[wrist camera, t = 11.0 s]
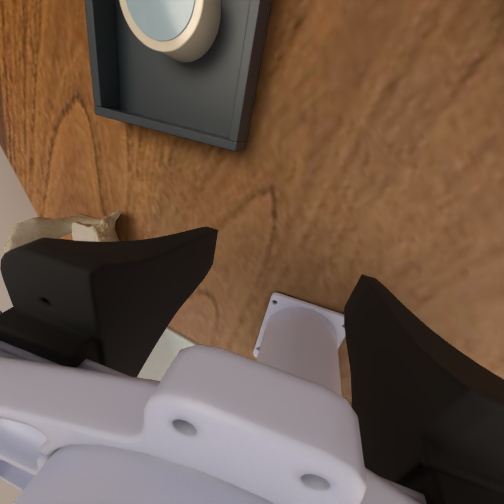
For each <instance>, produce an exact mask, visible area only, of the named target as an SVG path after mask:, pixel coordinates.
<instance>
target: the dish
mask: <svg viewBox="0 0 504 504" xmlns="http://www.w3.org/2000/svg"><path fill="white" fill-rule="evenodd" d="M119 2H120V5H121V9H122V12H123V15H124V17H125V19H126V22H127V23H128V25H129V27H130V29H131V30H132V32H133V33H134V35H135V36H136V37H137V38H138V39H139V40H140V41H141V42H142V43H143V44H144V45H146V46H147V47H149V48H151V49H153V50H155V51H157V52H159V53H161V54H163V55H165V56H167V57H169V58H171V59H173V60H175V61H178V62H192V61H195V60H197V59H199V58H200V57H202V56H203V55H204V54H205V53H206V52H207V51H208V50H209V49H210V47H211V46H212V44H213V42H214V40H215V38H216V36H217V33H218V29H219V26H220V19H221V0H119Z"/></svg>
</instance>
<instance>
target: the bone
mask: <svg viewBox="0 0 504 504" xmlns="http://www.w3.org/2000/svg"><path fill="white" fill-rule="evenodd" d="M120 214H121V211H119V210H118V211H116V212H114V213H112V214H111V215H109V216H106V217H104V218H103V219H99V218H94V217H88V216H84V215H82V214H80V215H77V216H70V217H64V218H57V219H50V218H44V217H37V218H32V219H29V220H27V221H24V222H21V223H18V224H17V225H15V226H14V227H13V228H12V230H11V233H10V237H9V239H8V241H7V242H6V244H5V249H4V254H5V253H6V252H8V251H9V250H11V249H14V248H17V247H19V246H22V245H24V244H27V243H30V242H32V241H35V240H37V239H40V238H44V237H45V238H54V239H60V238H61V237H63V236H65V235H67V234H69V233H71V232H72V238H73V240H75V241H96V242H115V241H120V240H119V238H118V236H117V234H116V230H115V222H116V220H117V219H118V217H119V216H120Z"/></svg>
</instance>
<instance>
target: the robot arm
mask: <svg viewBox="0 0 504 504" xmlns="http://www.w3.org/2000/svg"><path fill="white" fill-rule="evenodd" d="M217 233H218V230H216V229H213V228H209V227H201V228H197V229H193V230H189V231H185V232H181V233H177V234H172V235H168V236H163V237H158V238H152V239H144V240H135V241H115V242H96V241H75V240H65V239H54V238H45V237H44V238H40V239H37V240H35V241H32V242H30V243H27V244H24V245H22V246H19V247H17V248H14V249H11V250H9V251H8V252H6V253H5V254H4V256H3V257H2V259H1V273H2V276H3V280H4V282H5V285H6V288H7V290H8V293H9V296H10V299H11V301H12V304H13V306H14V307H12V308H10V309H9V310H7V311H5V312H3V313H2V312H1V311H0V478H1V479H3V480H4V481H6V482H8V483H9V484H11V485H13V486H15V487H16V488H18V489H20V490H21V491H22V492H21V493H20V494H19V496H18V497H17V498H16V499H15V501H14V502H13V503H12V504H504V380H503V379H502V378H500V377H498V376H497V375H495V374H493V373H492V372H490V371H489V370H487V369H485V368H484V367H482V366H481V365H479V364H478V363H476V362H475V361H473V360H472V359H470V358H469V357H467V356H466V355H464V354H463V353H461V352H460V351H459V350H457V349H456V348H454V347H453V346H452V345H450V344H449V343H448V342H446V341H445V340H444V339H442V338H441V337H440V336H439V335H437V334H436V333H435V332H433V331H432V330H431V329H430V328H429V327H427V326H426V325H425V324H424V323H423V322H422V321H420V320H419V319H418V318H417V317H416V316H415V315H414V314H413V313H412V312H410V311H409V310H408V309H407V308H406V307H405V306H404V305H403V304H402V303H401V302H400V301H399V300H398V299H397V298H396V297H395V296H394V295H393V294H392V293H391V292H390V291H389V290H388V289H387V288H386V287H385V286H384V285H383V284H381V283H380V282H379V281H378V280H377V279H375V278H372V277H369V276H366V275H361V277H360V279H359V281H358V283H357V285H356V286H355V288H354V290H353V292H352V294H351V296H350V298H349V300H348V301H347V303H346V305H345V309H344V314H341V313H338V312H335V311H332V310H329V309H326V308H323V307H320V306H317V305H314V304H311V303H308V302H305V301H302V300H299V299H296V298H292V297H289V296H286V295H283V294H280V293H277V292H275V293H273V294H272V295H271V298H270V302H269V305H268V308H267V311H266V314H265V317H264V320H263V323H262V326H261V330H260V333H259V336H258V339H257V342H256V345H255V348H254V351H253V355H254V356H255V357H256V358H257V360H256V361H255V360H253V359H250V358H247V357H244V356H242V355H239V354H236V353H234V352H231V351H228V350H225V349H223V348H219V347H213V346H207V345H201V344H200V345H194V346H191V347H188V348H185V349H182V350H180V351H179V353H178V355H177V356H176V358H175V359H174V361H173V362H172V364H171V366H170V367H169V369H168V370H167V372H166V373H165V375H164V377H163V378H162V380H161V381H156V380H149V379H143V378H137V376H138V374H139V372H140V370H141V369H142V367H143V365H144V363H145V362H146V360H147V358H148V357H149V355H150V353H151V352H152V350H153V348H154V347H155V345H156V343H157V342H158V340H159V338H160V337H161V335H162V334H163V332H164V330H165V329H166V327H167V326H168V324H169V323H170V321H171V320H172V318H173V317H174V315H175V314H176V312H177V311H178V310H179V308H180V307H181V306H182V305H183V304H184V302H185V301H186V300H187V299H188V298H189V296H190V295H191V294H192V293H193V292H194V290H195V289H196V288H197V287H198V285H199V284H200V283H201V282H202V281H203V279H204V278H205V276H206V275H207V273H208V271H209V270H210V268H211V266H212V265H213V259H214V253H215V246H216V240H217ZM273 300H275V301H277V302H274V301H273ZM343 324H344V325H343ZM345 336H346V342H347V349H348V356H349V363H350V371H351V389H352V407H351V406H350V404H349V402H348V401H347V400H346V399H345V398H343V397H342V393H341V381H340V369H339V357H338V348H339V346H340V344H341V343H342V341H343V339H344V337H345ZM258 347H259V348H258Z"/></svg>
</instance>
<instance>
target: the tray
mask: <svg viewBox="0 0 504 504" xmlns="http://www.w3.org/2000/svg"><path fill="white" fill-rule="evenodd" d="M84 1H85V11H86V22H87V33H88V43H89V54H90V65H91V76H92V86H93V97H94V105H95V106H94V108H95V114H96V115H99V116H103V117H107V118H111V119H115V120H118V121H122V122H126V123H130V124H133V125H137V126H141V127H145V128H149V129H152V130H156V131H160V132H164V133H168V134H171V135H175V136H179V137H183V138H187V139H190V140H194V141H198V142H202V143H206V144H209V145H213V146H217V147H221V148H224V149H228V150H232V151H238V150H243V149H245V147H246V141H247V136H248V130H249V125H250V119H251V114H252V108H253V103H254V97H255V92H256V86H257V81H258V75H259V70H260V65H261V59H262V54H263V48H264V43H265V37H266V32H267V26H268V21H269V15H270V10H271V4H272V0H221V19H220V26H219V29H218V33H217V36H216V38H215V40H214V42H213V44H212V46H211V47H210V49H209V50H208V51H207V52H206V53H205V54H204V55H203V56H202V57H200V58H199V59H197V60H195V61H192V62H178V61H175V60H173V59H171V58H169V57H167V56H165V55H163V54H161V53H159V52H157V51H155V50H153V49H151V48H149V47H147V46H146V45H144V44H143V43H142V42H141V41H140V40H139V39H138V38H137V37H136V36H135V35H134V33H133V32H132V30H131V29H130V27H129V25H128V23H127V22H126V19H125V17H124V15H123V12H122V9H121V5H120V2H119V0H84Z"/></svg>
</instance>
